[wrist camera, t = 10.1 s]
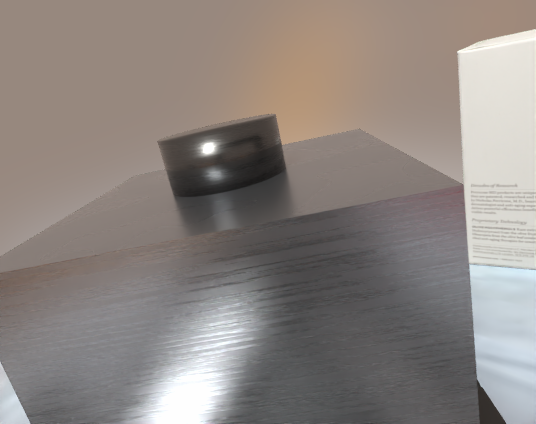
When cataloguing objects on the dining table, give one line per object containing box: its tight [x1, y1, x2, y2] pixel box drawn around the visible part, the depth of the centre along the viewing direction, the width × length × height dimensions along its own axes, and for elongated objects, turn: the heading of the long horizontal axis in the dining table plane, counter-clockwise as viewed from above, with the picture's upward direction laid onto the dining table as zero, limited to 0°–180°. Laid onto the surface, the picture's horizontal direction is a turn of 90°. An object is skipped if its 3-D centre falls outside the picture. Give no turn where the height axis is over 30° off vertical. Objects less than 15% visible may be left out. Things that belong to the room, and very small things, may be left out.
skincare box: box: [457, 29, 536, 270], centre depth 28 cm, size 8×7×16 cm
